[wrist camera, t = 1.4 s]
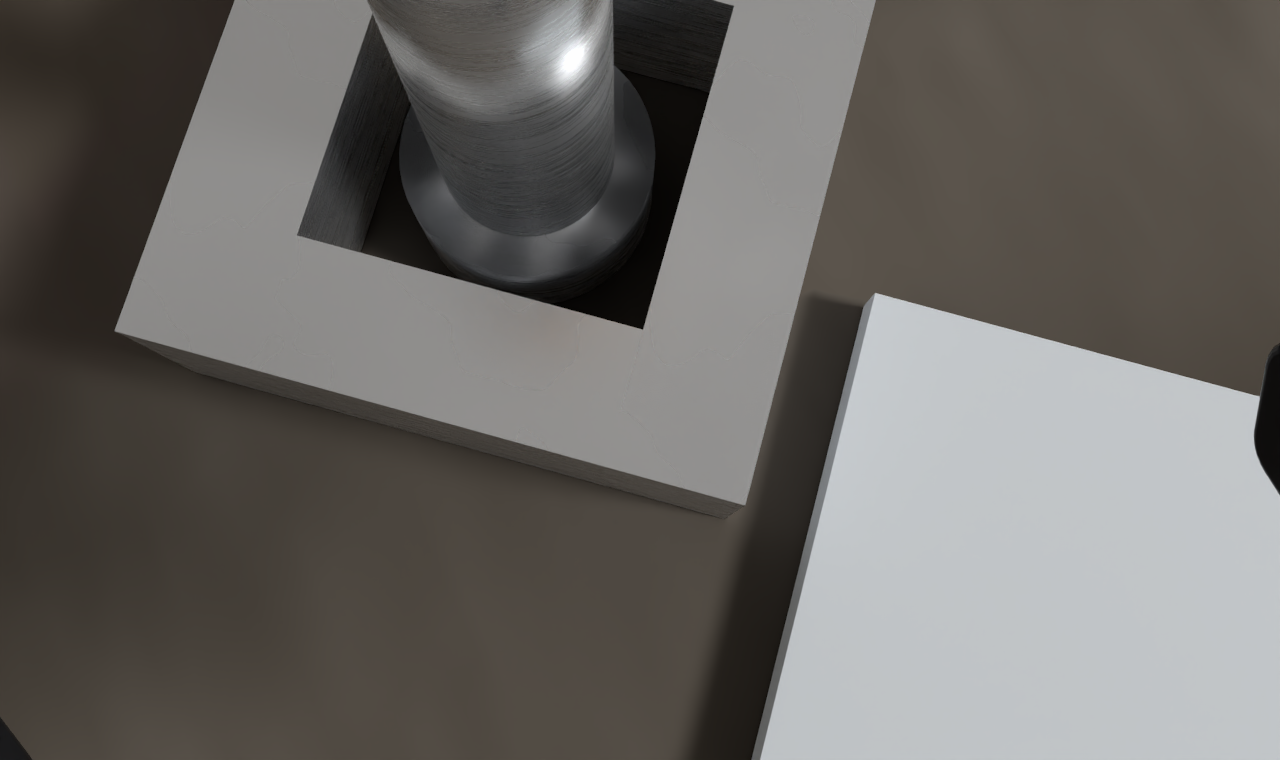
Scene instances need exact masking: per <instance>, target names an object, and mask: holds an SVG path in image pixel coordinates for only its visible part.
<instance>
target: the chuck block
mask: <svg viewBox="0 0 1280 760" xmlns="http://www.w3.org/2000/svg"><path fill="white" fill-rule="evenodd" d="M875 1H876V0H613V47H614V66H616V67H617V68H619V69H622V70H626V71H630V72H634V73H637V74H641V75H645V76H649V77H653V78H656V79H660V80H664V81H668V82H671V83H675V84H679V85H683V86H686V87H690V88H694V89H698V90H701V91H705V92H709V93H710V94H709V97H708V101H707V104H706V108H705V111H704V115H703V119H702V122H701V126H700V129H699V133H698V136H697V140H696V143H695V147H694V151H693V154H692V158H691V161H690V165H689V168H688V172H687V175H686V179H685V183H684V186H683V190H682V193H681V197H680V200H679V204H678V207H677V211H676V215H675V218H674V222H673V225H672V229H671V232H670V236H669V239H668V243H667V247H666V250H665V254H664V257H663V261H662V264H661V268H660V271H659V275H658V279H657V282H656V286H655V289H654V293H653V296H652V300H651V303H650V307H649V311H648V314H647V318H646V321H645V325H644V328H643V330H642V329H639V328H635V327H631V326H628V325H624V324H620V323H617V322H613V321H609V320H606V319H602V318H598V317H595V316H591V315H587V314H584V313H580V312H576V311H572V310H569V309H565V308H561V307H558V306H554V305H550V304H547V303H543V302H539V301H536V300H532V299H528V298H525V297H521V296H517V295H514V294H510V293H506V292H503V291H499V290H495V289H492V288H488V287H484V286H481V285H477V284H473V283H470V282H466V281H462V280H459V279H455V278H451V277H448V276H444V275H440V274H437V273H433V272H429V271H426V270H422V269H418V268H415V267H411V266H407V265H404V264H400V263H396V262H393V261H389V260H385V259H382V258H378V257H374V256H371V255H367V254H363V253H360V252H361V249H362V246H363V243H364V240H365V237H366V234H367V231H368V228H369V225H370V222H371V219H372V216H373V213H374V210H375V207H376V204H377V201H378V198H379V195H380V192H381V189H382V185H383V182H384V179H385V176H386V173H387V170H388V167H389V164H390V161H391V158H392V155H393V152H394V149H395V146H396V143H397V140H398V137H399V134H400V131H401V128H402V125H403V122H404V119H405V116H406V113H407V110H408V106H409V103H410V100H409V98H408V95H407V93H406V91H405V88H404V86H403V84H402V81H401V79H400V77H399V74H398V72H397V70H396V67H395V65H394V63H393V60H392V58H391V56H390V53H389V51H388V49H387V46H386V44H385V42H384V39H383V37H382V35H381V32H380V30H379V28H378V25H377V23H376V21H375V18H374V16H373V14H372V11H371V9H370V7H369V4H368V2H367V0H235V1H234V3H233V6H232V9H231V12H230V14H229V17H228V20H227V23H226V26H225V28H224V31H223V34H222V37H221V39H220V42H219V45H218V48H217V50H216V53H215V56H214V59H213V61H212V64H211V67H210V70H209V72H208V75H207V78H206V81H205V83H204V86H203V89H202V92H201V94H200V97H199V100H198V103H197V105H196V108H195V111H194V114H193V116H192V119H191V122H190V125H189V127H188V130H187V133H186V136H185V138H184V141H183V144H182V147H181V149H180V152H179V155H178V158H177V160H176V163H175V166H174V169H173V171H172V174H171V177H170V180H169V182H168V185H167V188H166V191H165V193H164V196H163V199H162V202H161V204H160V207H159V210H158V213H157V215H156V218H155V221H154V224H153V226H152V229H151V232H150V235H149V237H148V240H147V243H146V246H145V248H144V251H143V254H142V257H141V259H140V262H139V265H138V268H137V270H136V273H135V276H134V279H133V281H132V284H131V287H130V290H129V292H128V295H127V298H126V301H125V303H124V306H123V309H122V312H121V314H120V317H119V320H118V323H117V325H116V328H115V332H117V333H119V334H121V335H123V336H125V337H127V338H129V339H131V340H133V341H135V342H137V343H139V344H141V345H143V346H145V347H146V348H148V349H150V350H152V351H154V352H156V353H158V354H160V355H162V356H164V357H166V358H168V359H170V360H172V361H174V362H176V363H178V364H180V365H182V366H184V367H186V368H188V369H189V370H191V371H193V372H195V373H199V374H203V375H206V376H210V377H214V378H217V379H221V380H224V381H228V382H232V383H235V384H239V385H242V386H246V387H250V388H253V389H257V390H260V391H264V392H268V393H271V394H275V395H279V396H282V397H286V398H289V399H293V400H297V401H300V402H304V403H307V404H311V405H315V406H318V407H322V408H325V409H329V410H333V411H336V412H340V413H344V414H347V415H351V416H354V417H358V418H362V419H365V420H369V421H372V422H376V423H380V424H383V425H387V426H390V427H394V428H398V429H401V430H405V431H409V432H412V433H416V434H419V435H423V436H427V437H430V438H434V439H437V440H441V441H445V442H448V443H452V444H455V445H459V446H463V447H466V448H470V449H474V450H477V451H481V452H484V453H488V454H492V455H495V456H499V457H502V458H506V459H510V460H513V461H517V462H520V463H524V464H528V465H531V466H535V467H539V468H542V469H546V470H549V471H553V472H557V473H560V474H564V475H567V476H571V477H575V478H578V479H582V480H585V481H589V482H593V483H596V484H600V485H604V486H607V487H611V488H614V489H618V490H622V491H625V492H629V493H632V494H636V495H640V496H643V497H647V498H650V499H654V500H658V501H661V502H665V503H669V504H672V505H676V506H679V507H683V508H687V509H690V510H694V511H697V512H701V513H705V514H708V515H712V516H715V517H719V518H723V519H726V518H727V517H729V516H730V515H732V514H733V513H735V512H736V511H738V510H739V509H741V508H742V507H744V506H745V504H746V500H747V497H748V493H749V489H750V485H751V481H752V477H753V473H754V469H755V466H756V462H757V458H758V454H759V450H760V446H761V442H762V438H763V435H764V431H765V427H766V423H767V419H768V415H769V411H770V407H771V404H772V400H773V396H774V392H775V388H776V384H777V380H778V376H779V373H780V369H781V365H782V361H783V357H784V353H785V349H786V346H787V342H788V338H789V334H790V330H791V326H792V322H793V318H794V315H795V311H796V307H797V303H798V299H799V295H800V291H801V287H802V284H803V280H804V276H805V272H806V268H807V264H808V260H809V256H810V253H811V249H812V245H813V241H814V237H815V233H816V229H817V225H818V222H819V218H820V214H821V210H822V206H823V202H824V198H825V195H826V191H827V187H828V183H829V179H830V175H831V171H832V167H833V164H834V160H835V156H836V152H837V148H838V144H839V140H840V136H841V133H842V129H843V125H844V121H845V117H846V113H847V109H848V105H849V102H850V98H851V94H852V90H853V86H854V82H855V78H856V75H857V71H858V67H859V63H860V59H861V55H862V51H863V47H864V44H865V40H866V36H867V32H868V28H869V24H870V20H871V16H872V13H873V9H874V5H875Z"/></svg>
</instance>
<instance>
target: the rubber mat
mask: <svg viewBox="0 0 1280 760" xmlns="http://www.w3.org/2000/svg"><path fill="white" fill-rule="evenodd" d="M1259 399H1260V397H1258V396H1255V395H1251V394H1247V393H1243V392H1240V391H1236V390H1232V389H1229V388H1225V387H1221V386H1217V385H1214V384H1210V383H1206V382H1203V381H1199V380H1195V379H1192V378H1188V377H1184V376H1180V375H1177V374H1173V373H1169V372H1166V371H1162V370H1158V369H1155V368H1151V367H1147V366H1143V365H1140V364H1136V363H1132V362H1129V361H1125V360H1121V359H1117V358H1114V357H1110V356H1106V355H1103V354H1099V353H1095V352H1092V351H1088V350H1084V349H1080V348H1077V347H1073V346H1069V345H1066V344H1062V343H1058V342H1054V341H1051V340H1047V339H1043V338H1040V337H1036V336H1032V335H1029V334H1025V333H1021V332H1017V331H1014V330H1010V329H1006V328H1003V327H999V326H995V325H991V324H988V323H984V322H980V321H977V320H973V319H969V318H966V317H962V316H958V315H954V314H951V313H947V312H943V311H940V310H936V309H932V308H929V307H925V306H921V305H917V304H914V303H910V302H906V301H903V300H899V299H895V298H891V297H888V296H884V295H880V294H877V293H875V294H874V295H873V296H872V297H871V299H870V300H869V301H868V302H867V303H866V304H865V305H864V307H863V311H862V315H861V319H860V323H859V327H858V332H857V336H856V340H855V344H854V348H853V352H852V356H851V360H850V364H849V368H848V372H847V376H846V380H845V384H844V388H843V392H842V396H841V400H840V404H839V408H838V412H837V416H836V420H835V424H834V428H833V432H832V436H831V440H830V444H829V449H828V453H827V457H826V461H825V465H824V469H823V473H822V477H821V481H820V485H819V489H818V493H817V497H816V501H815V505H814V509H813V513H812V517H811V521H810V525H809V529H808V533H807V537H806V541H805V545H804V549H803V553H802V557H801V562H800V566H799V570H798V574H797V578H796V582H795V586H794V590H793V594H792V598H791V602H790V606H789V610H788V614H787V618H786V622H785V626H784V630H783V634H782V638H781V642H780V646H779V650H778V654H777V658H776V662H775V666H774V670H773V675H772V679H771V683H770V687H769V691H768V695H767V699H766V703H765V707H764V711H763V715H762V719H761V723H760V727H759V731H758V735H757V739H756V743H755V747H754V751H753V755H752V759H751V760H1280V495H1279V494H1278V492H1277V490H1276V489H1275V487H1274V486H1273V484H1272V483H1271V481H1270V479H1269V478H1268V476H1267V475H1266V473H1265V472H1264V470H1263V468H1262V466H1261V464H1260V462H1259V459H1258V457H1257V454H1256V450H1255V446H1254V428H1255V422H1256V416H1257V411H1258V405H1259Z"/></svg>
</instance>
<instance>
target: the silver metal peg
mask: <svg viewBox="0 0 1280 760" xmlns="http://www.w3.org/2000/svg"><path fill="white" fill-rule="evenodd" d="M367 2H368V4H369V7H370V9H371V11H372V14H373V16H374V18H375V21H376V23H377V25H378V28H379V30H380V32H381V35H382V37H383V39H384V42H385V44H386V46H387V49H388V51H389V53H390V56H391V58H392V60H393V63H394V65H395V67H396V70H397V72H398V74H399V77H400V79H401V81H402V84H403V86H404V88H405V91H406V93H407V95H408V98H409V100H410V102H411V106H410V109H409V111H408V114H407V116H406V118H405V121H404V125H403V129H402V133H401V139H400V148H399V165H400V173H401V179H402V184H403V187H404V191H405V194H406V197H407V200H408V202H409V204H410V206H411V208H412V210H413V212H414V214H415V216H416V218H417V220H418V222H419V223H420V225H421V227H422V229H423V231H424V233H425V234H426V236H427V238H428V240H429V242H430V243H431V245H432V247H433V249H434V250H435V252H436V253H437V255H438V256H439V258H440V259H441V260H442V262H443V263H444V264H445V265H446V266H447V267H448V269H449V270H450V271H451V272H452V273H454V274H455V275H456V276H457V277H458V278H459V279H460V280H462V281H466V282H470V283H473V284H477V285H481V286H484V287H488V288H492V289H495V290H499V291H503V292H506V293H510V294H514V295H517V296H521V297H525V298H528V299H532V300H536V301H539V302H543V303H547V304H552V303H557V302H563V301H566V300H570V299H573V298H576V297H579V296H581V295H583V294H585V293H587V292H590V291H592V290H594V289H595V288H597V287H598V286H600V285H601V284H603V283H605V282H606V281H607V280H608V279H610V278H611V277H612V276H613V275H614V274H616V273H617V272H618V271H619V270H620V269H621V268H622V267H623V265H624V264H625V263H626V262H627V261H628V260H629V258H630V257H631V255H632V254H633V253H634V251H635V250H636V248H637V246H638V244H639V242H640V240H641V239H642V237H643V234H644V232H645V229H646V226H647V223H648V220H649V215H650V210H651V202H652V190H653V178H654V166H655V142H654V135H653V130H652V125H651V121H650V118H649V116H648V113H647V110H646V107H645V105H644V103H643V102H642V100H641V98H640V96H639V94H638V92H637V91H636V90H635V88H634V87H633V85H632V84H631V82H630V81H629V80H628V79H627V78H626V77H625V75H624V74H623V73H622V72H621V71H620V70H619V69H618V68H617V67H616V66H614V47H613V0H367Z"/></svg>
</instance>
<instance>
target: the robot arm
mask: <svg viewBox="0 0 1280 760" xmlns="http://www.w3.org/2000/svg"><path fill="white" fill-rule="evenodd" d="M1254 446H1255V450H1256V454H1257V457H1258V459H1259V462H1260V464H1261V466H1262V468H1263V470H1264V472H1265V473H1266V475H1267V476H1268V478H1269V479H1270V481H1271V483H1272V484H1273V486H1274V487H1275V489H1276V490H1277V492H1278V494H1279V495H1280V343H1279V344H1278V345H1276V346H1275V347H1274V348H1273V349H1272V351H1271V352H1270V354H1269V355H1268V358H1267V361H1266V365H1265V371H1264V377H1263V382H1262V388H1261V394H1260V399H1259V405H1258V411H1257V416H1256V422H1255V428H1254ZM0 760H32V759H31V757H30V755H29V754H28V753H27V752H26V750H25V749H24V748H23V746H22V745H21V744H20V742H19V741H18V740H17V738H16V737H15V736H14V734H13V733H12V732H11V731H10V729H9V728H8V727H7V725H6V724H5V723H4V721H3V720H2V719H1V717H0Z"/></svg>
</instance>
